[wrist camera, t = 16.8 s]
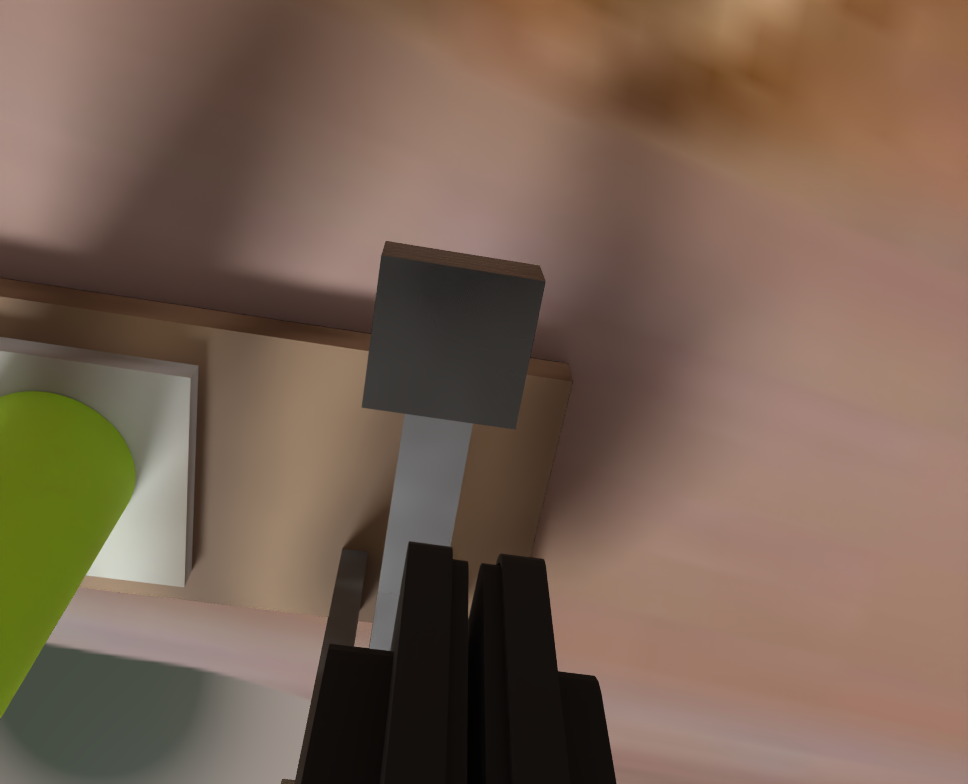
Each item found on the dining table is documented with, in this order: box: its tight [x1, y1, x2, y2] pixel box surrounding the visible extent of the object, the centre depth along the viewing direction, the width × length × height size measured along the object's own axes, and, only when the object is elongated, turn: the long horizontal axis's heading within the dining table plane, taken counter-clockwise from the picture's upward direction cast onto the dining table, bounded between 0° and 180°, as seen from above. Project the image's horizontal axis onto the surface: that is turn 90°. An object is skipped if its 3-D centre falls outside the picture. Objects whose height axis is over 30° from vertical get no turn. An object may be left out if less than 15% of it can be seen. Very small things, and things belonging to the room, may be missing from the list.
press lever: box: [281, 241, 545, 784], centre depth 25 cm, size 6×23×6 cm, turn 170°
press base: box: [0, 278, 573, 784], centre depth 28 cm, size 24×12×14 cm, turn 80°
